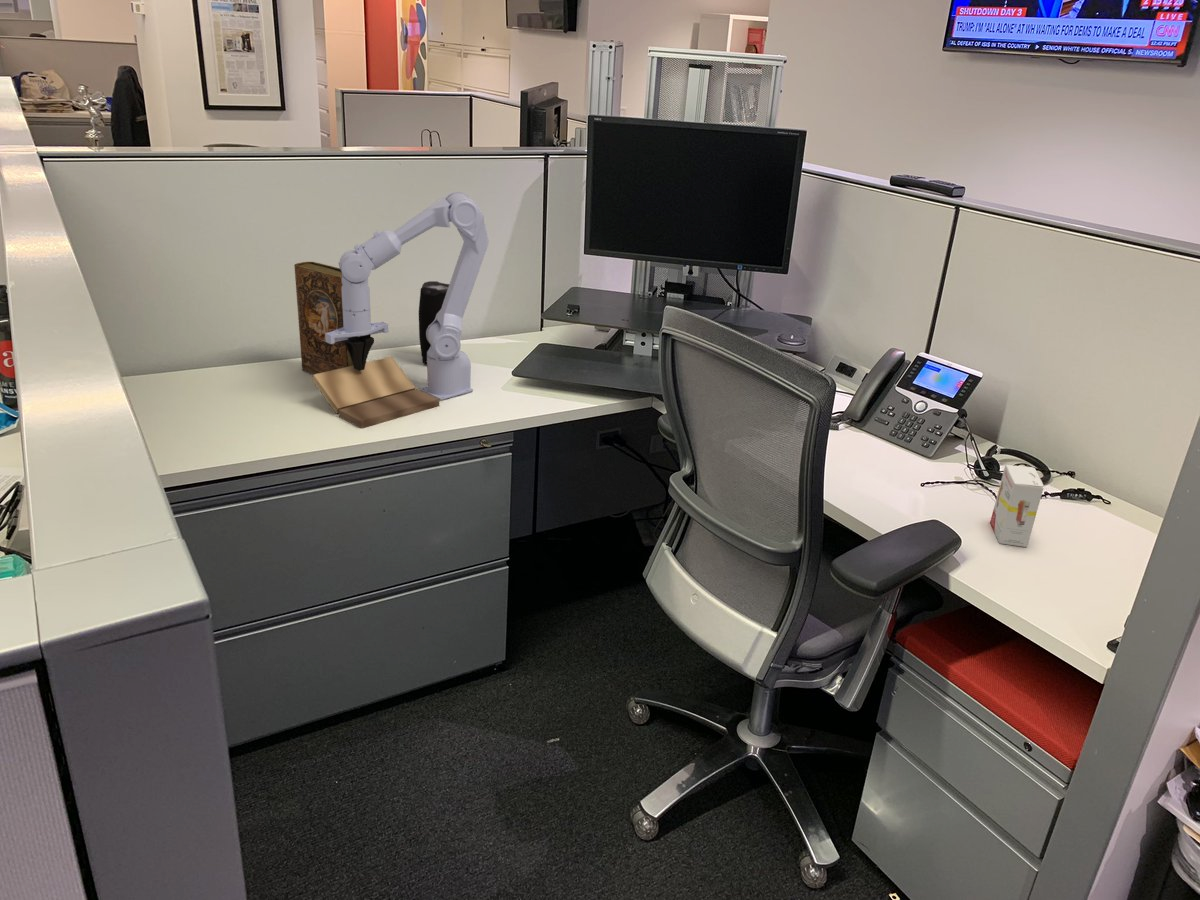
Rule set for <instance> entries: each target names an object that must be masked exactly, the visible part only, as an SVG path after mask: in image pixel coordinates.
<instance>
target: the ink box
mask: <svg viewBox="0 0 1200 900" xmlns="http://www.w3.org/2000/svg"><path fill="white" fill-rule="evenodd" d="M1043 492H1044V483H1043V481H1042V479H1041V477H1040V476H1039V474H1038V471H1037V470H1036V468H1035V467H1031V466H1022V465H1021V466H1020V465H1011V464H1005V465H1004V469H1003V473H1002V476H1001V480H1000V485H999V489H998V492H997V495H996V498H995V503H994V506H993V511H992V514H991V518H990V520H989V522H990V525H991V527H992V530H993V532H994V534H995V537H996V539H997V542H998V543H999V544H1001V545H1002V544H1003V545H1008V546H1009V545H1010V546H1017V547H1024V548H1028V546H1029V541H1030V539H1031V536H1032V535H1031V534H1032V532H1033V528H1034V524H1035V522H1036V521H1035V520H1036V515H1037V513H1038V510H1039V505H1040V502H1041V498H1042V496H1043V495H1042V494H1043Z"/></svg>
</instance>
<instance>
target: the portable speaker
mask: <svg viewBox="0 0 1200 900" xmlns="http://www.w3.org/2000/svg"><path fill="white" fill-rule="evenodd" d="M449 284H450V283H444V282H439V281H437V280H436V281H433V280H431V281H425V282H424V283H423V284H422V286H421V287H420V291H419V292H420V294H419V303H418V304H419V305H418V332H419V333H418V336H419V345H420V346H419V347H420V354H421V359H422V360H421V361H422V364H427V351H428V350H429V348H430V346H431V345H430V343H429V342H428V340H427V338H426V331H427V328H428V326H429V325H430V324H431V323H432V322H433V321H434V320H435V317H436V314H437V313H438V312H439V311H440V310H441V308H442V305H443V302H444V299H445V296H446V293H447V290H448V287H449Z"/></svg>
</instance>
